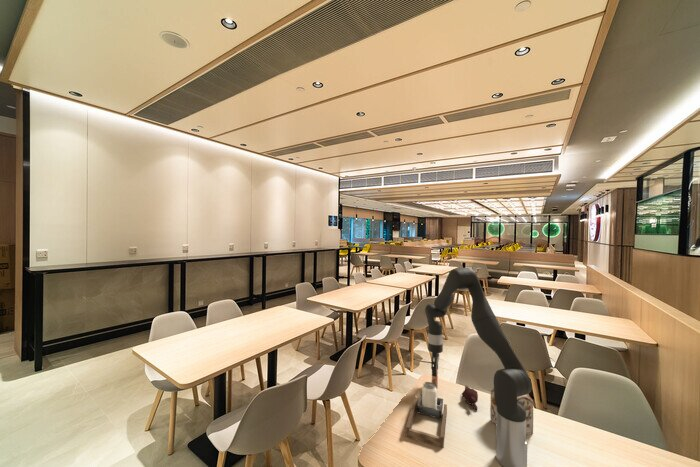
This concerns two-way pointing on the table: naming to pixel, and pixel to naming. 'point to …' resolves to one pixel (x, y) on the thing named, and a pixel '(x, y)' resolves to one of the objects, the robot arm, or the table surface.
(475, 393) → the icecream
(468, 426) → the table surface
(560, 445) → the table surface
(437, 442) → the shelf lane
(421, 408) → the pull frame
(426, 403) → the can
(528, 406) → the decorative jar
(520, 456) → the robot arm
